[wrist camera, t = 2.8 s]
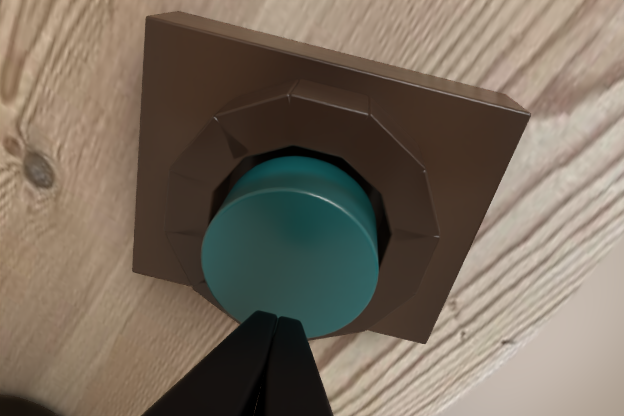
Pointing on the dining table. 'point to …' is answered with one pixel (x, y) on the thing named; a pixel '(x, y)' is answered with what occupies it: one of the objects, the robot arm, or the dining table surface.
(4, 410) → the supplement bottle
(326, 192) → the press top
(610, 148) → the dining table surface
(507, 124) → the button housing
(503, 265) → the dining table surface
